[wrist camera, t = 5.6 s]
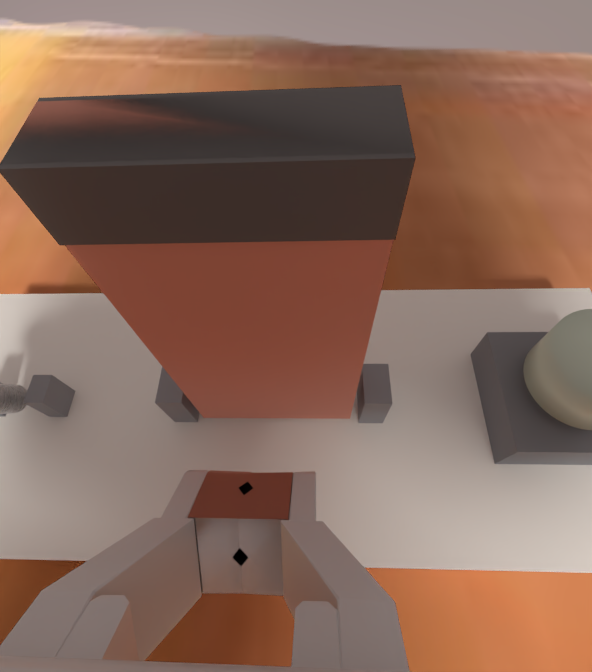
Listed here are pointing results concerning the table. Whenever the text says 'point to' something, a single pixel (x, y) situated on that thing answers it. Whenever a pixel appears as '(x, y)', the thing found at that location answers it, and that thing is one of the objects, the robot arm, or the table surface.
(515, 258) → the table surface
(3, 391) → the toggle lever
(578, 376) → the push button
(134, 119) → the paddle
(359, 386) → the control panel
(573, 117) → the table surface
